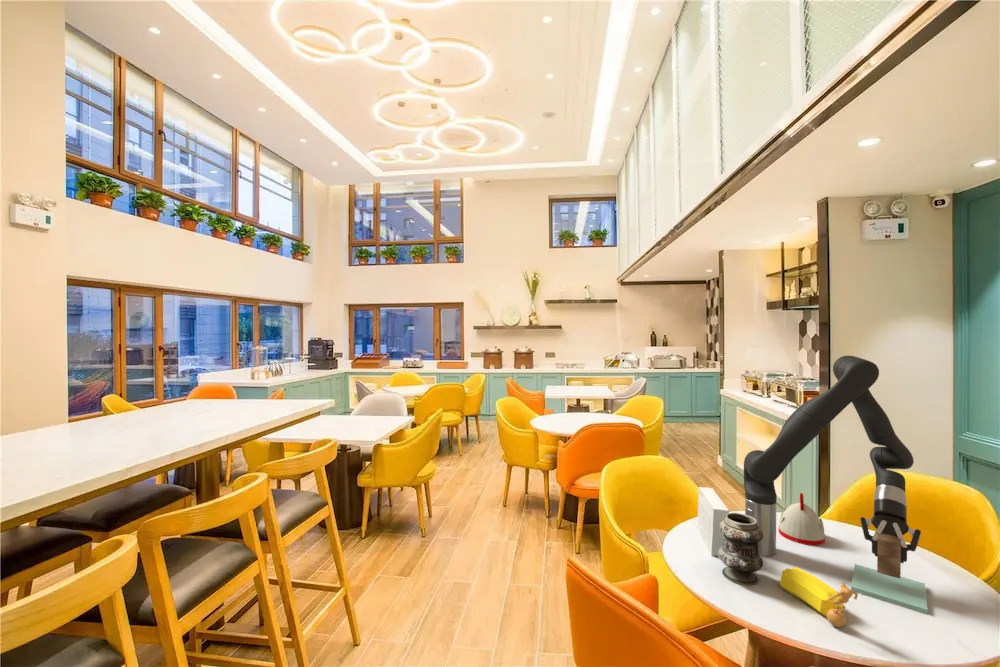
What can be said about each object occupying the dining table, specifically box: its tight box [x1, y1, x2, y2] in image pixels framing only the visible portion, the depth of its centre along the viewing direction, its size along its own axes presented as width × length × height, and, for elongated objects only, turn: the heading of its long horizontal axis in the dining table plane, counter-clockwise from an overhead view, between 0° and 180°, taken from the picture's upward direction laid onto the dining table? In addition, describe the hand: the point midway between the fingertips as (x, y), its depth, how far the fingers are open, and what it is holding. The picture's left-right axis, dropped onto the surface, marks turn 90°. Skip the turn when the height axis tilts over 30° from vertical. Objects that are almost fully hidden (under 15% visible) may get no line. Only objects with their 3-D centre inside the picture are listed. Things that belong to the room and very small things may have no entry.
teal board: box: [850, 563, 929, 615], centre depth 130 cm, size 16×16×1 cm
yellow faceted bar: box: [779, 566, 845, 618], centre depth 125 cm, size 18×7×8 cm
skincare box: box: [696, 486, 730, 557], centre depth 158 cm, size 21×6×16 cm, turn 168°
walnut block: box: [876, 533, 902, 579], centre depth 130 cm, size 5×5×10 cm
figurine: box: [826, 582, 859, 628], centre depth 113 cm, size 8×6×12 cm
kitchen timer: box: [778, 492, 826, 546], centre depth 162 cm, size 14×14×15 cm
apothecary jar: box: [717, 512, 764, 586], centre depth 136 cm, size 12×12×18 cm
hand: (889, 558), depth 128 cm, fingers closed on walnut block, 5 cm apart
